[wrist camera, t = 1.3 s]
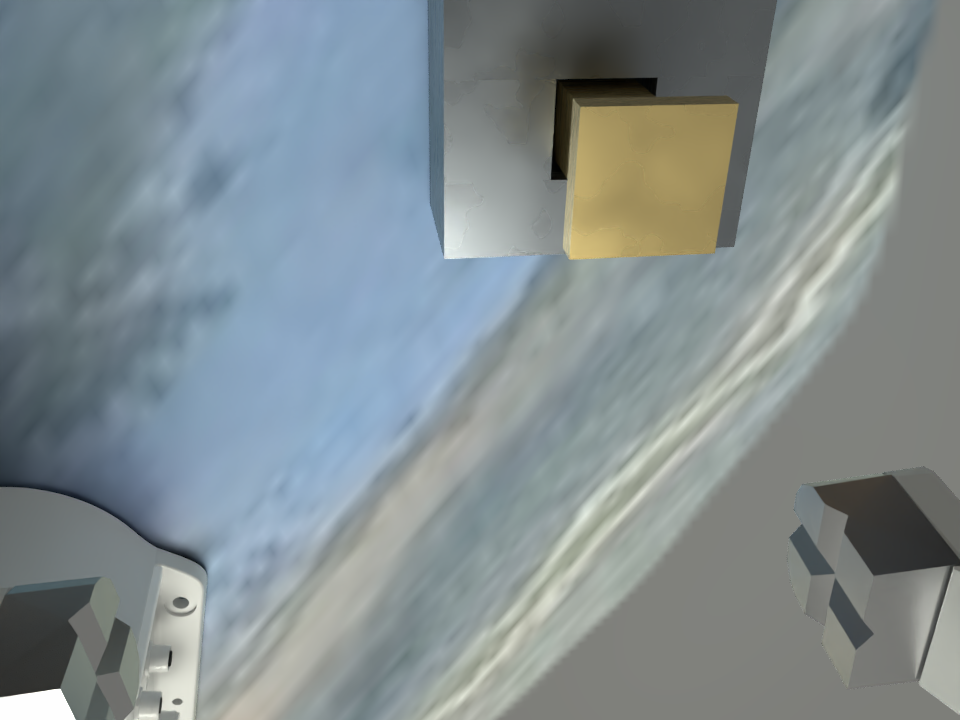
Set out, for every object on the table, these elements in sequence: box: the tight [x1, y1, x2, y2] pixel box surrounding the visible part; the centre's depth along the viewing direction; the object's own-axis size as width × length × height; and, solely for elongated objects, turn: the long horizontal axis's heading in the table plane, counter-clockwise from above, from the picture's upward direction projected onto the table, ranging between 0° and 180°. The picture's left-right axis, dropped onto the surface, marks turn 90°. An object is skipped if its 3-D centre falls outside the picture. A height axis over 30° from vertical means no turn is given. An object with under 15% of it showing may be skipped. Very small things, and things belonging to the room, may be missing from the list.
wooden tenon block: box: [553, 79, 739, 259], centre depth 32 cm, size 5×5×8 cm
